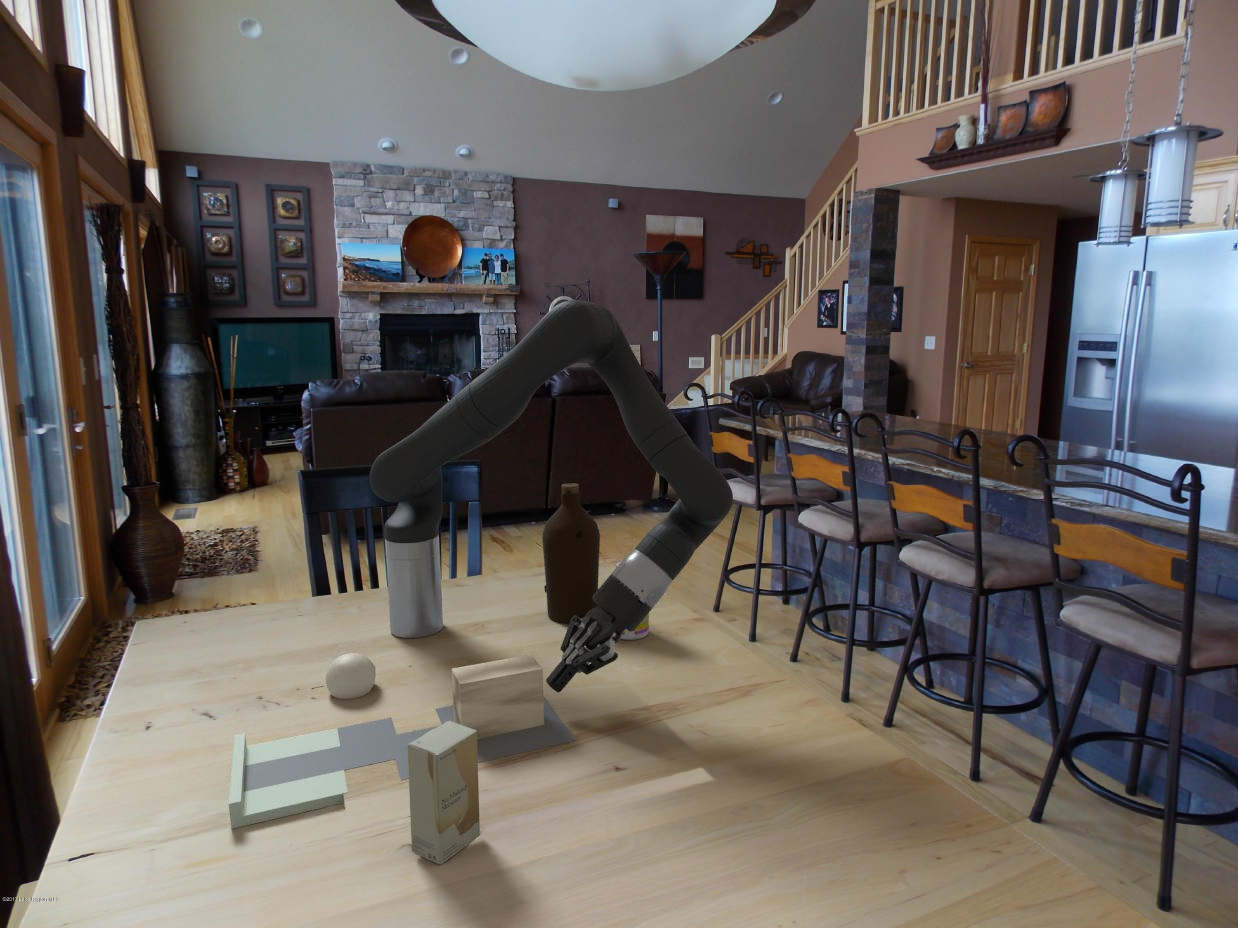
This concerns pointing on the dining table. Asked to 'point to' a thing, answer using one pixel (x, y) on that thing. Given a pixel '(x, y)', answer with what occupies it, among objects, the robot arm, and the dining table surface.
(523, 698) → the birch block
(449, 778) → the skincare box
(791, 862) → the dining table surface
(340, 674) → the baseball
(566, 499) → the olive oil
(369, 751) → the board
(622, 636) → the supplement bottle
